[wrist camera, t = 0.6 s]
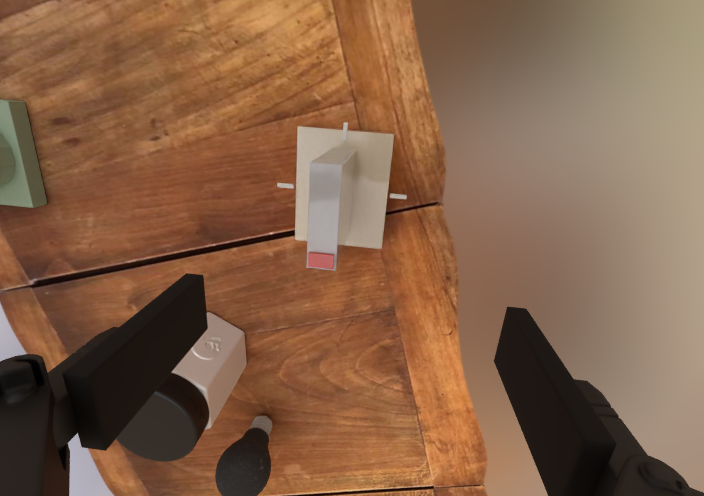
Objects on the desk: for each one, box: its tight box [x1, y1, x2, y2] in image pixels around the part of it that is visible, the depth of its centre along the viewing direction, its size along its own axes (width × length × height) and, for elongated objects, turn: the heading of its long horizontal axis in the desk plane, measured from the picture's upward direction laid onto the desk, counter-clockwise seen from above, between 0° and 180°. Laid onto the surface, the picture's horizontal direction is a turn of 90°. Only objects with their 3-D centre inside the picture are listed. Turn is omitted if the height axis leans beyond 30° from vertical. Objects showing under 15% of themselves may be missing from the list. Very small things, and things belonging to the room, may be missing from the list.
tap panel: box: [278, 122, 407, 249], centre depth 33 cm, size 11×11×3 cm
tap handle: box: [306, 148, 356, 271], centre depth 28 cm, size 7×2×9 cm, turn 176°
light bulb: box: [215, 416, 272, 496], centre depth 41 cm, size 6×6×10 cm
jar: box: [116, 312, 247, 462], centre depth 37 cm, size 9×8×12 cm
